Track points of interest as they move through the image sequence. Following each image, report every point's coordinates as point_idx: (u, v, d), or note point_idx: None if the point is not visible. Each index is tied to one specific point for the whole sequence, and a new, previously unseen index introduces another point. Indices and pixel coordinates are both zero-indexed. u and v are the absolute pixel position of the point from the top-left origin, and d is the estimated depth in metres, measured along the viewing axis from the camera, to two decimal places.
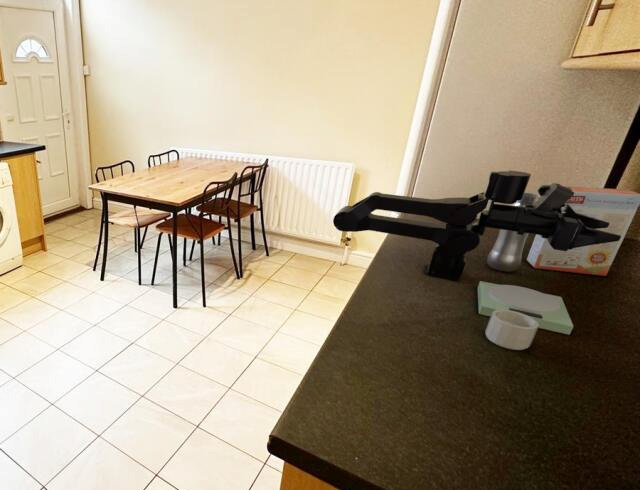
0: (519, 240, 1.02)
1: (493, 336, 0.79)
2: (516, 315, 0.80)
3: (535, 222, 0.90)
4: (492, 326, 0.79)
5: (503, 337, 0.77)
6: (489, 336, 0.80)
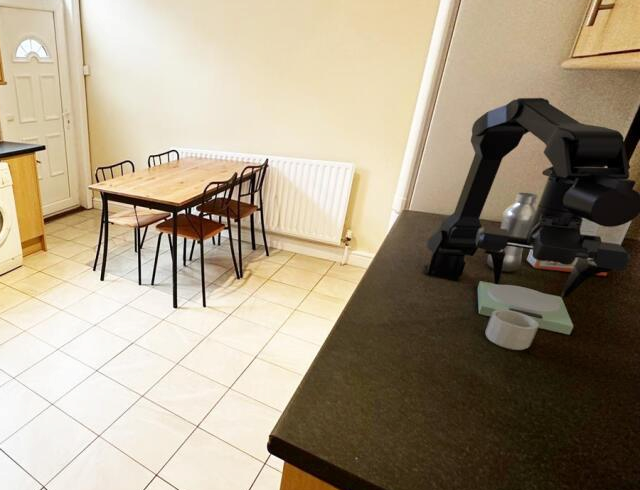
0: None
1: (493, 336, 0.79)
2: (516, 315, 0.80)
3: (532, 223, 0.72)
4: (492, 326, 0.79)
5: (503, 337, 0.77)
6: (489, 336, 0.80)
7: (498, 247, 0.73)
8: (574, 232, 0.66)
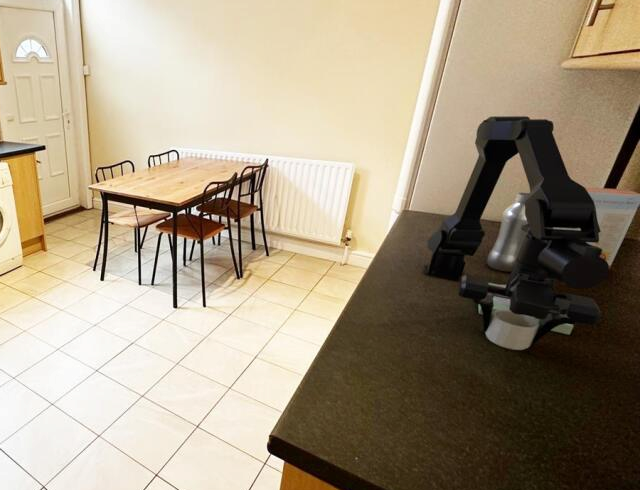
0: (519, 240, 1.02)
1: (493, 336, 0.79)
2: (516, 315, 0.80)
3: (511, 275, 0.76)
4: (492, 326, 0.79)
5: (503, 337, 0.77)
6: (489, 336, 0.80)
7: (479, 297, 0.78)
8: (548, 288, 0.70)
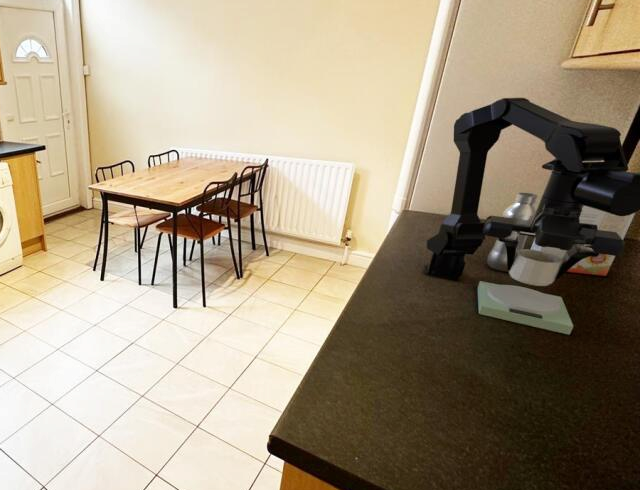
0: (519, 240, 1.02)
1: (517, 274, 0.81)
2: (540, 254, 0.82)
3: (536, 212, 0.78)
4: (516, 264, 0.82)
5: (527, 273, 0.80)
6: (513, 274, 0.82)
7: (504, 234, 0.80)
8: (573, 221, 0.73)
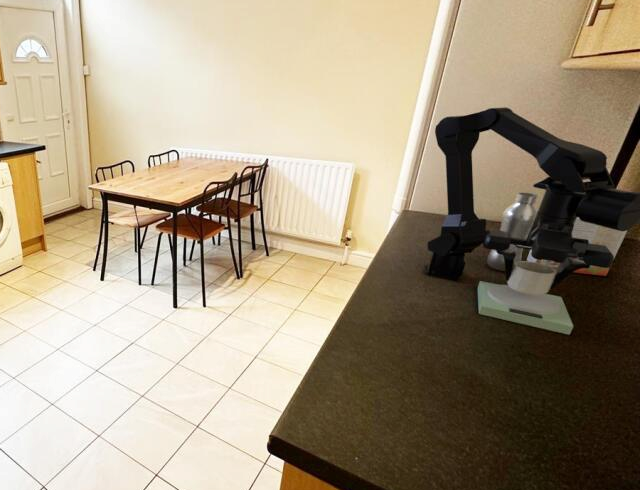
0: None
1: (515, 284, 0.87)
2: (536, 265, 0.88)
3: (532, 227, 0.84)
4: (514, 275, 0.87)
5: (524, 283, 0.86)
6: (511, 284, 0.88)
7: (502, 247, 0.86)
8: (566, 235, 0.79)
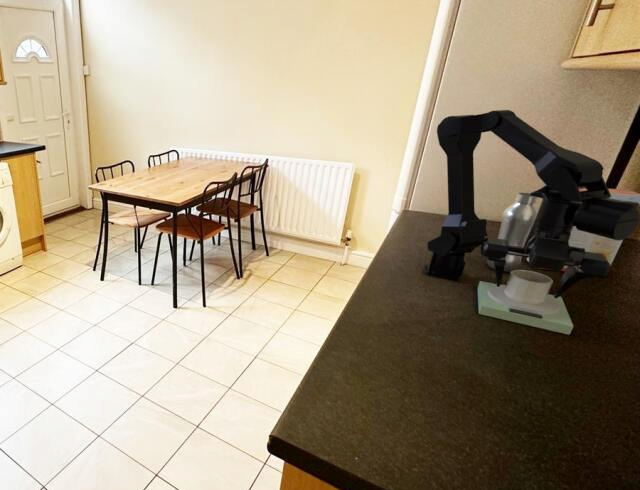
0: (519, 240, 1.02)
1: (511, 292, 0.88)
2: (532, 274, 0.89)
3: (529, 235, 0.85)
4: (510, 284, 0.88)
5: (520, 292, 0.87)
6: (508, 293, 0.89)
7: (500, 255, 0.87)
8: (563, 244, 0.79)
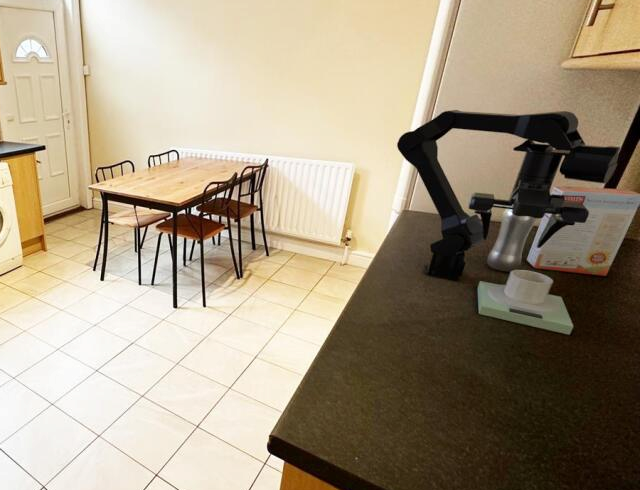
0: (519, 240, 1.02)
1: (511, 292, 0.88)
2: (532, 274, 0.89)
3: (513, 188, 0.89)
4: (510, 284, 0.88)
5: (520, 292, 0.87)
6: (508, 293, 0.89)
7: (486, 208, 0.91)
8: (545, 193, 0.84)
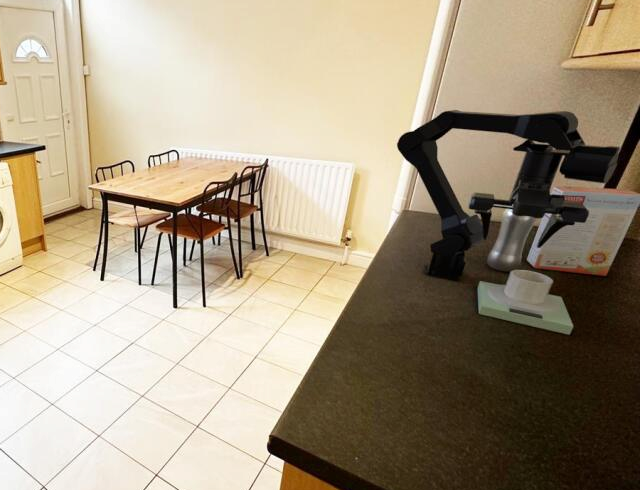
0: (519, 240, 1.02)
1: (511, 292, 0.88)
2: (532, 274, 0.89)
3: (513, 188, 0.89)
4: (510, 284, 0.88)
5: (520, 292, 0.87)
6: (508, 293, 0.89)
7: (486, 208, 0.91)
8: (545, 193, 0.84)
